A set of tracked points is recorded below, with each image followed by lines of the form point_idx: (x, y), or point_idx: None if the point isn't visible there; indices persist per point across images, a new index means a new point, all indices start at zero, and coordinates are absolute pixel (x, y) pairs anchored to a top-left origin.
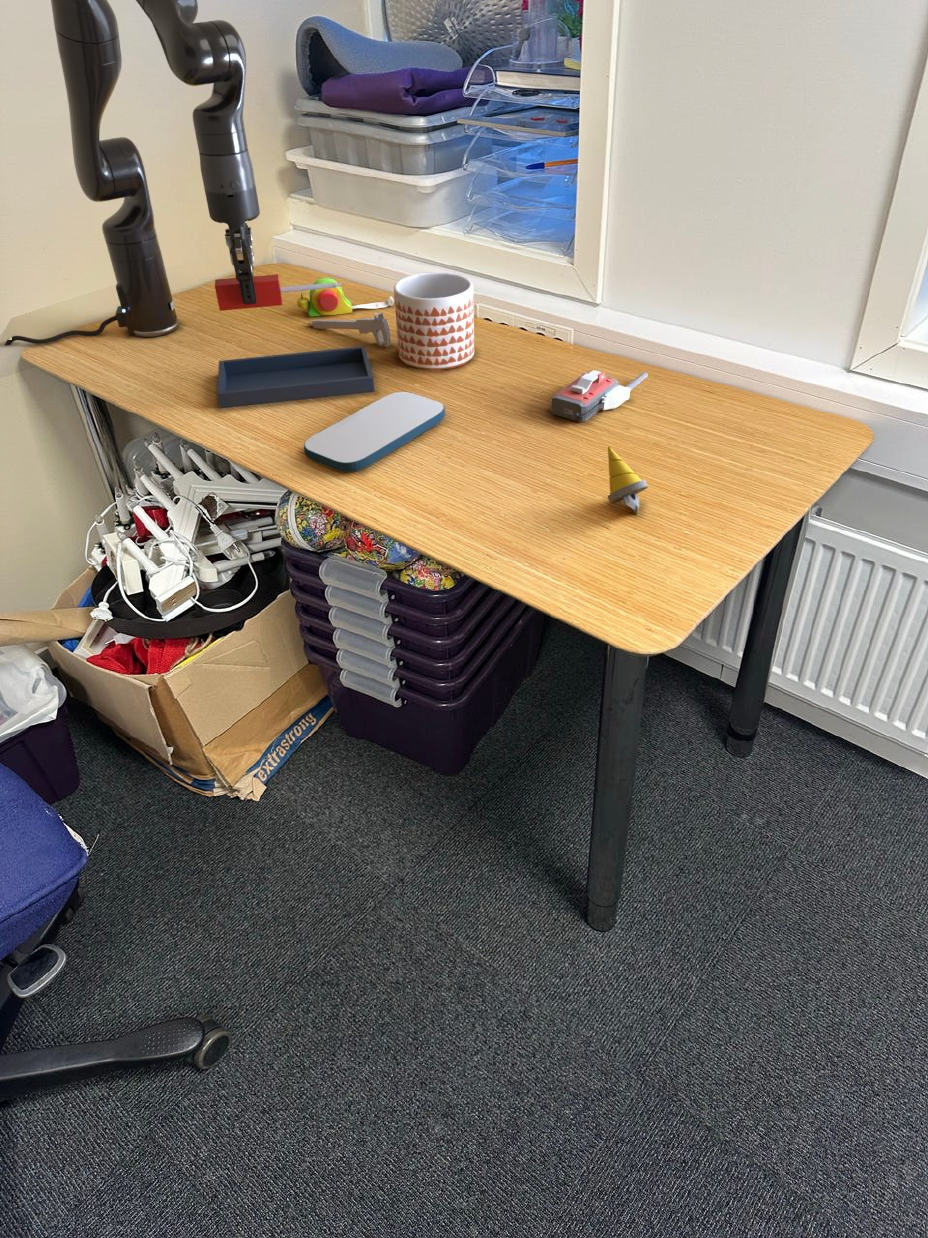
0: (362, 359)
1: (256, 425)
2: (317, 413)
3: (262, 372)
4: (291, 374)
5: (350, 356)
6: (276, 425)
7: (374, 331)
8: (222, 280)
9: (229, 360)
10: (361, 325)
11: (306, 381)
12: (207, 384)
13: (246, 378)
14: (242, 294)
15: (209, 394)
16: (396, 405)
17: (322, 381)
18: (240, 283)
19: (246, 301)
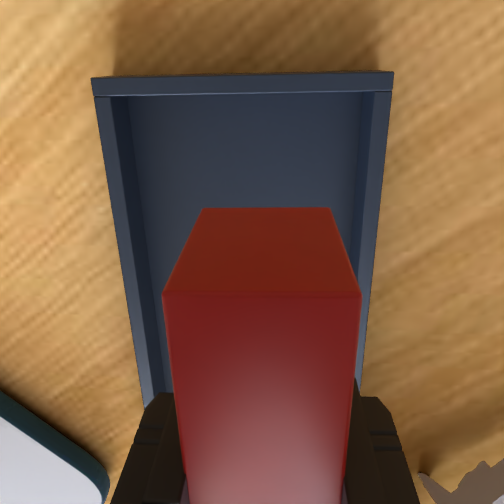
0: None
1: (12, 186)
2: (75, 329)
3: (348, 207)
4: None
5: None
6: (12, 237)
7: (443, 500)
8: (302, 357)
9: (381, 114)
10: (486, 486)
11: None
12: (327, 14)
13: (318, 157)
14: (169, 417)
15: (241, 28)
16: (36, 485)
17: (146, 378)
18: (144, 491)
19: (155, 401)
